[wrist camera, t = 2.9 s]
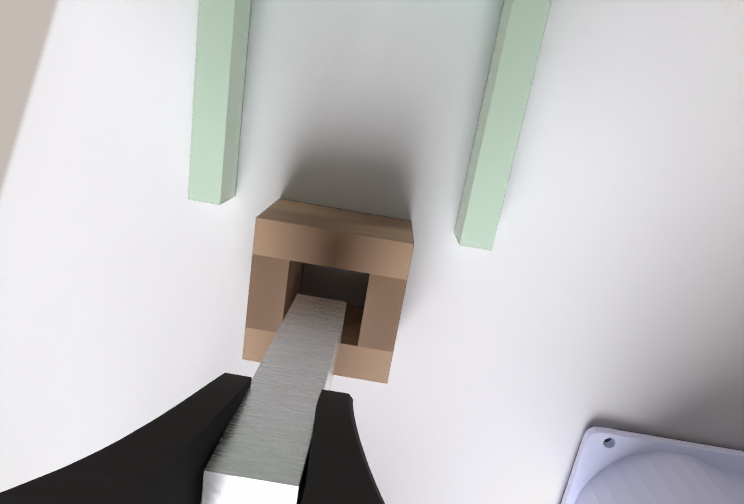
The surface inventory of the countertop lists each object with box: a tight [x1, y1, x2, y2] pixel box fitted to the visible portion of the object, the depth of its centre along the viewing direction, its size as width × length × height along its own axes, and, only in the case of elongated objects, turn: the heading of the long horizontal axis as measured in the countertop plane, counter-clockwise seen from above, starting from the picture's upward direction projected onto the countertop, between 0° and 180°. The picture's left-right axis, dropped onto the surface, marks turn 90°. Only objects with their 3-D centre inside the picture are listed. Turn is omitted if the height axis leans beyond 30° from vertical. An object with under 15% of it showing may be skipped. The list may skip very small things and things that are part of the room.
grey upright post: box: [202, 294, 347, 504], centre depth 12 cm, size 2×2×8 cm
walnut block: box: [242, 199, 414, 384], centre depth 19 cm, size 5×5×4 cm
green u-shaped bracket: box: [188, 0, 552, 250], centre depth 18 cm, size 11×10×2 cm
